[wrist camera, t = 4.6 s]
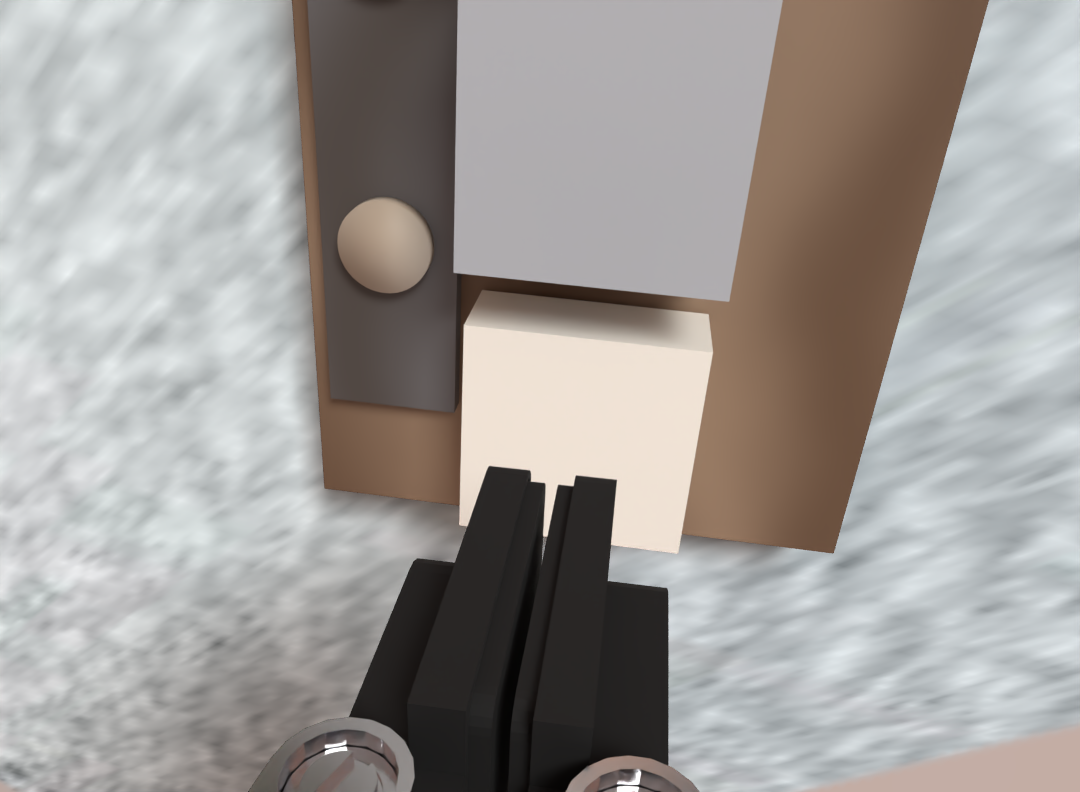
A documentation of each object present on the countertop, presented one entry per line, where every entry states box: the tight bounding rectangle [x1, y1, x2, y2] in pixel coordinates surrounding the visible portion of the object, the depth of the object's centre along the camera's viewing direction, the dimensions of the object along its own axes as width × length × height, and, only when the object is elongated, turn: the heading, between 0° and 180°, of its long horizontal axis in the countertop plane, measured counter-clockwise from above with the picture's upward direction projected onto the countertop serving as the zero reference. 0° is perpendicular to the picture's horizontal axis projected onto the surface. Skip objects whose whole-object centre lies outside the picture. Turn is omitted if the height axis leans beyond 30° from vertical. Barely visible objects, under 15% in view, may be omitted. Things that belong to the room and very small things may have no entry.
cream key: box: [459, 290, 713, 554], centre depth 19 cm, size 5×5×2 cm
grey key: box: [453, 0, 783, 302], centre depth 15 cm, size 5×5×2 cm
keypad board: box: [292, 0, 989, 553], centre depth 18 cm, size 13×20×3 cm, turn 176°
